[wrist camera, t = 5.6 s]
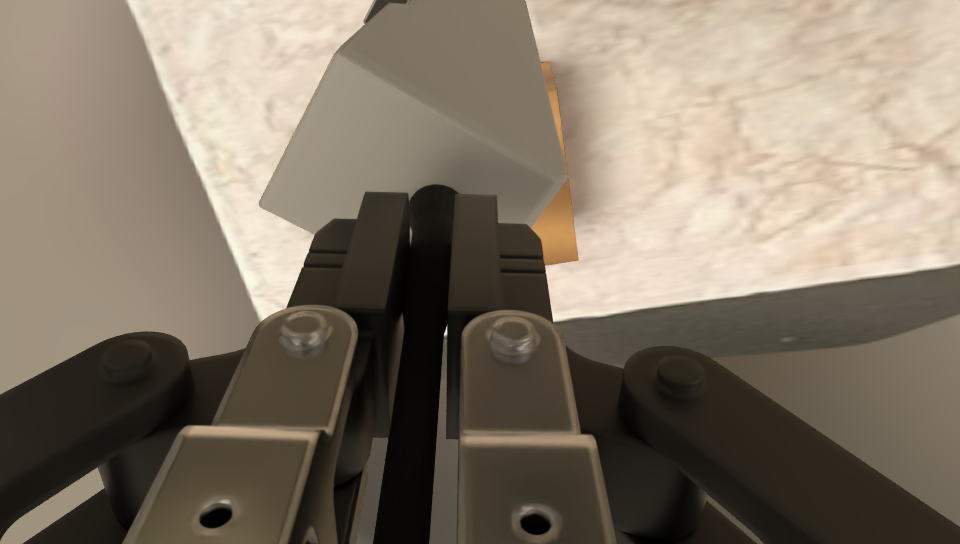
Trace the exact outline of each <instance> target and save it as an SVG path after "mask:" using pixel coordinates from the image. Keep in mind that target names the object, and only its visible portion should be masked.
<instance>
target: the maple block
mask: <svg viewBox="0 0 960 544" xmlns="http://www.w3.org/2000/svg"><path fill="white" fill-rule="evenodd" d="M541 67H542V71H543V75H544V79H545V83H546V87H547V91H548V95H549V100H550V104H551V108H552V112H553V116H554V120H555V124H556V128H557V133H558V137H559V141H560V145H561V149H562V153H563V157H564V161H565V166H566V170H567V165H566V157H565V149H564V141H563V134H562V126H561V118H560V110H559V102H558V94H557V89H556V85H555V82H554V78H553V75H552V71H551V68H550V64H549V62H543V63H541ZM567 174H568V173H567ZM531 229H532V230H533V231H534V232H535V233H536V234H537V235H538V236H539V237H540V239H541V242H542V249H543V256H544V257H543V260H544V263H545V265H552V264H558V263H565V262H571V261H578V252H577V244H576V236H575V228H574V220H573V212H572V204H571V197H570V189H569V181H568V178H567V180H566V182H565V183H564V184H563V186H562V187H561V188H560V190H559V191H558V192H557V194H556V195H555V197H554V198H553V199H552V201H551V202H550V203H549V205H548V206H547V207H546V209H545V210H544V211H543V213H542V214H541V215H540V217H539V218H538V219H537V221H536V222H535V224H534V225H533V226H532V228H531Z"/></svg>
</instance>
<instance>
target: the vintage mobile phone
mask: <svg viewBox="0 0 960 544" xmlns="http://www.w3.org/2000/svg"><path fill="white" fill-rule="evenodd" d="M364 24H365V25H364V26H363V27H362V28H361V29H359V30H358V31H357V32H356V33H355V34H354V35H353V36H352V37H351V38H349V39H348V40H347V41H346V42H345V43H344V44H343V45H342V46H341V47H340V48H339V49H338V50H337V51H336V53H335V54H334V55H333V57H332V59H331V61H330V63H329V65H328V67H327V69H326V71H325V73H324V75H323V77H322V79H321V81H320V83H319V85H318V87H317V89H316V91H315V93H314V95H313V97H312V99H311V101H310V103H309V105H308V107H307V109H306V111H305V113H304V115H303V117H302V118H301V120H300V122H299V124H298V126H297V128H296V130H295V132H294V134H293V136H292V138H291V140H290V142H289V144H288V146H287V148H286V150H285V152H284V154H283V156H282V158H281V160H280V162H279V164H278V166H277V168H276V170H275V172H274V174H273V176H272V178H271V180H270V181H269V183H268V185H267V187H266V189H265V191H264V193H263V195H262V197H261V199H260V201H259V206H260V207H261V208H263V209H265V210H267V211H269V212H271V213H273V214H275V215H277V216H279V217H281V218H283V219H285V220H287V221H289V222H291V223H293V224H295V225H297V226H299V227H301V228H303V229H305V230H307V231H309V232H311V233H313V234H315V233H316V232H317V231H319V230H320V229H321V228H322V227H324V226H325V225H326V224H327V223H329V222H330V221H331V220H332V219H334V218H337V219H357V217H358V213H359V210H360V207H361V203H362V200H363V197H364V194H365V192H366V191H370V192H405V193H408V195H409V210H410V254H409V260H408V266H407V272H406V279H405V285H404V291H403V300H402V314H403V323H404V336H403V343H402V350H401V357H400V363H399V370H398V377H397V384H396V391H395V398H394V404H393V411H392V418H391V425H390V432H389V438H388V445H387V452H386V459H385V466H384V473H383V479H382V486H381V493H380V500H379V507H378V513H377V520H376V527H375V534H374V541H373V544H429V537H430V524H431V510H432V495H433V481H434V467H435V453H436V439H437V438H436V437H437V424H438V423H437V422H438V409H439V394H440V381H441V367H442V353H443V338H444V333H445V330H446V327H447V324H448V298H449V282H450V267H451V252H452V237H453V222H454V206H455V194H475V195H497V206H498V223H515V224H527V225H528V226H529V227H530V228H532V226H533V225H534V224H535V222H536V221H537V219H538V218H539V217H540V215H541V214H542V213H543V211H544V210H545V209H546V207H547V206H548V205H549V203H550V202H551V201H552V199H553V198H554V197H555V195H556V194H557V192H558V191H559V190H560V188H561V187H562V186H563V184H564V183H565V182H566V180H567V178H568V174H567V170H566V166H565V161H564V157H563V153H562V149H561V145H560V141H559V137H558V133H557V128H556V124H555V120H554V116H553V112H552V108H551V104H550V100H549V95H548V91H547V87H546V83H545V79H544V75H543V71H542V67H541V62H540V58H539V54H538V50H537V46H536V42H535V38H534V34H533V30H532V25H531V21H530V17H529V13H528V9H527V5H526V1H525V0H374V1H373V3H372V5H371V7H370V9H369V11H368V13H367V15H366V17H365V19H364Z"/></svg>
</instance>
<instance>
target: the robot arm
mask: <svg viewBox="0 0 960 544" xmlns="http://www.w3.org/2000/svg"><path fill="white" fill-rule="evenodd" d="M409 254H410V210H409V195H408V193H405V192H370V191H366V192H365V194H364V197H363V200H362V203H361V207H360V210H359V213H358V217H357V219H337V218H334V219H332V220H331V221H330V222H329V223H327V224H326V225H325V226H324V227H322V228H321V229H320V230H319V231H317V232H316V233H315V236H314V239H313V241H312V244H311V246H310V249H309V253H308V254H307V257H306V259H305V262H304V268H302V269H301V272H300V274H299V277H298V280H297V282H296V285H295V287H294V290H293V292H292V295H291V298H290V300H289V303H288V305H287V308H286V309H284V310H281V311H279V312H276V313H274V314H272V315H270V316H269V317H267V318H266V319H264V320H263V321H262V322H261V323H260V324H259V325H258V326H257V327H256V329H255V330H254V332H253V334H252V336H251V338H250V340H249V342H248V345H247V347H246V348H244V349H242V350H238V351H235V352H231V353H227V354H221V355H216V356H210V357H205V358H199V359H194V360H189V356H188V352H187V349H186V346H185V345H184V344H183V343H182V341H180V340H179V339H177V338H176V337H174V336H171V335H168V334H165V333H159V332H134V333H129V334H124V335H120V336H116V337H113V338H110V339H107V340H105V341H103V342H100V343H98V344H96V345H95V346H92V347H90V348H89V349H87V350H85V351H83V352H81V353H79V354H77V355H75V356H73V357H71V358H70V359H68V360H66V361H64V362H62V363H60V364H58V365H56V366H54V367H52V368H50V369H48V370H46V371H45V372H43V373H41V374H39V375H37V376H35V377H33V378H31V379H29V380H27V381H26V382H24V383H22V384H20V385H18V386H16V387H14V388H12V389H10V390H8V391H6V392H4V393H3V394H1V395H0V540H1V538H2V536H3V535H4V533H5V532H6V531H7V529H8V528H9V527H10V526H11V525H12V524H13V523H14V522H15V521H16V520H18V519H19V518H20V517H22V516H23V515H25V514H26V513H28V512H29V511H31V510H32V509H34V508H36V507H37V506H39V505H40V504H42V503H43V502H44V501H46V500H48V499H49V498H51V497H52V496H54V495H56V494H57V493H59V492H60V491H61V490H63V489H65V488H66V487H68V486H69V485H71V484H72V483H74V482H75V481H77V480H78V479H80V478H82V477H83V476H85V475H86V474H88V473H89V472H91V471H92V470H94V469H95V468H97V467H98V470H99V472H100V475H101V478H102V481H103V484H104V487H105V488H104V489H103V490H101V491H100V492H98V493H97V494H95V495H94V496H92V497H91V498H89V499H88V500H86V501H85V502H83V503H82V504H80V505H79V506H78V507H76V508H75V509H73V510H72V511H70V512H69V513H67V514H66V515H64V516H63V517H61V518H60V519H58V520H57V521H55V522H54V523H52V524H51V525H49V526H48V527H47V528H45V529H44V530H42V531H41V532H40V533H38V534H36V535H35V536H33V537H32V538H30V539H29V540H27V541H26V542H24V543H23V544H356V539H357V534H358V529H359V523H360V517H361V512H362V507H363V502H364V496H365V491H366V485H367V478H368V472H367V461H368V459H369V456H370V451H371V446H372V440H373V437H379V438H389V432H390V425H391V418H392V411H393V404H394V398H395V391H396V384H397V377H398V370H399V363H400V357H401V350H402V343H403V336H404V323H403V314H402V300H403V291H404V285H405V279H406V272H407V266H408V260H409ZM543 257H544V256H543V249H542V242H541V239H540V237H539V236H538V235H537V234H536V233H535V232H534V231H533V230H532V229H531V228H530V227H529V226H528V225H527V224H515V223H498V206H497V195H475V194H455V206H454V222H453V237H452V252H451V267H450V282H449V298H448V325H447V417H446V419H447V420H446V422H447V423H446V439H459V447H458V493H457V544H757V543H756V542H754V541H753V540H752V539H751V538H750V537H749V536H747V535H746V534H745V533H744V532H743V531H742V530H740V529H739V528H738V527H737V526H736V525H735V524H733V523H732V522H731V521H730V520H729V519H727V518H726V517H725V516H724V515H723V514H722V513H720V512H719V511H718V510H717V509H716V508H715V507H713V506H712V505H711V504H710V503H709V502H708V501H706V499H707V496H708V495H709V496H710V497H712V498H713V499H714V500H715V501H717V503H719V504H720V505H721V506H722V507H723V508H725V509H726V510H727V511H728V512H729V513H731V514H732V515H733V516H734V517H735V518H736V519H738V520H739V521H740V522H741V523H742V524H744V525H745V526H746V527H747V528H748V529H750V530H751V531H752V532H753V533H754V534H755V535H756V536H757V537H759V539H760V540H761V541H762V542H763V543H764V544H960V527H959V526H958V525H956V524H954V523H953V522H952V521H950V520H949V519H947V518H945V517H944V516H943V515H941V514H940V513H938V512H937V511H935V510H934V509H932V508H931V507H929V506H928V505H927V504H925V503H924V502H922V501H921V500H919V499H917V498H916V497H915V496H913V495H912V494H910V493H909V492H907V491H906V490H904V489H903V488H901V487H900V486H899V485H897V484H896V483H894V482H893V481H891V480H890V479H888V478H887V477H885V476H884V475H882V474H881V473H879V472H878V471H876V470H875V469H874V468H872V467H870V466H869V465H867V464H866V463H865V462H863V461H862V460H860V459H859V458H857V457H856V456H854V455H853V454H851V453H850V452H848V451H847V450H845V449H844V448H843V447H841V446H840V445H838V444H837V443H835V442H834V441H832V440H831V439H829V438H828V437H826V436H825V435H823V434H822V433H820V432H819V431H817V430H816V429H814V428H813V427H811V426H810V425H809V424H807V423H806V422H804V421H803V420H801V419H800V418H798V417H797V416H795V415H794V414H792V413H791V412H789V411H788V410H787V409H785V408H783V407H782V406H781V405H779V404H778V403H776V402H775V401H773V400H772V399H770V398H769V397H767V396H766V395H764V394H763V393H761V392H760V391H759V390H757V389H756V388H754V387H753V386H751V385H750V384H748V383H747V382H745V381H744V380H742V379H741V378H739V377H738V376H736V375H735V374H733V373H732V372H730V371H729V370H727V369H726V368H725V367H723V366H722V365H720V364H718V363H717V362H716V361H714V360H712V359H711V358H709V357H707V356H705V355H703V354H701V353H698V352H695V351H692V350H689V349H685V348H680V347H673V346H658V347H651V348H646V349H644V350H641V351H639V352H637V353H635V354H633V355H632V356H631V357H630V358H629V359H628V361H627V362H626V364H625V367H624V369H623V368H619V367H615V366H611V365H607V364H603V363H599V362H596V361H592V360H590V359H587V358H585V357H582V356H581V355H579V354H577V353H575V352H574V351H572V350H571V349H569V348H568V347H567V346H566V345H565V342H564V338H563V335H562V333H561V332H560V330H559V329H558V328H557V327H556V326H555V325H554V324H553V319H552V312H551V305H550V298H549V291H548V284H547V277H546V274H545V272H546V270H545V263H544V260H543Z"/></svg>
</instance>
